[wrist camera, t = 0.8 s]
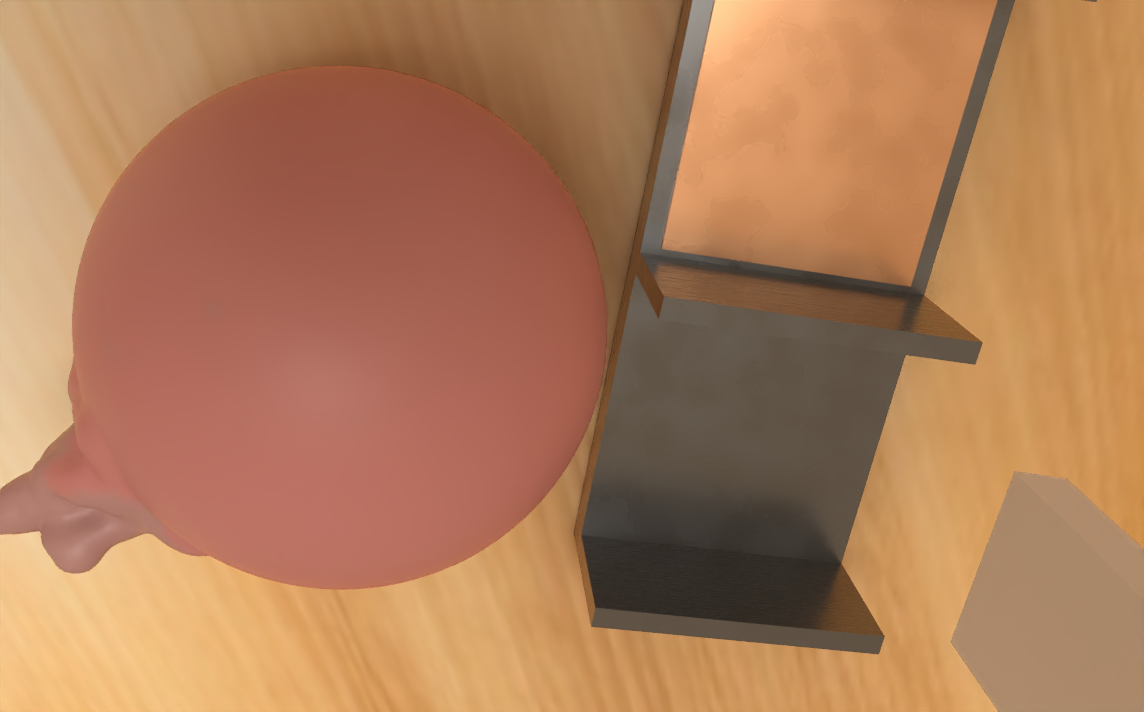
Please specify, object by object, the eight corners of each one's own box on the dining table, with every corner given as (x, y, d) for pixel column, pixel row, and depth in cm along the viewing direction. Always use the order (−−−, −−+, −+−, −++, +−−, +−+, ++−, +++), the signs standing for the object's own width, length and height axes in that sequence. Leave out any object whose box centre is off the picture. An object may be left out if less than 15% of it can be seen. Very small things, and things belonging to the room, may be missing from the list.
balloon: (-50, 192, 38) (-358, 354, 24) (483, -32, 37) (496, -3, 23) (171, 543, 44) (30, 842, 29) (637, 358, 43) (725, 576, 28)
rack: (704, -102, 37) (767, -108, 29) (1006, -40, 38) (1138, -31, 31) (573, 532, 45) (596, 654, 38) (824, 560, 47) (894, 681, 39)
